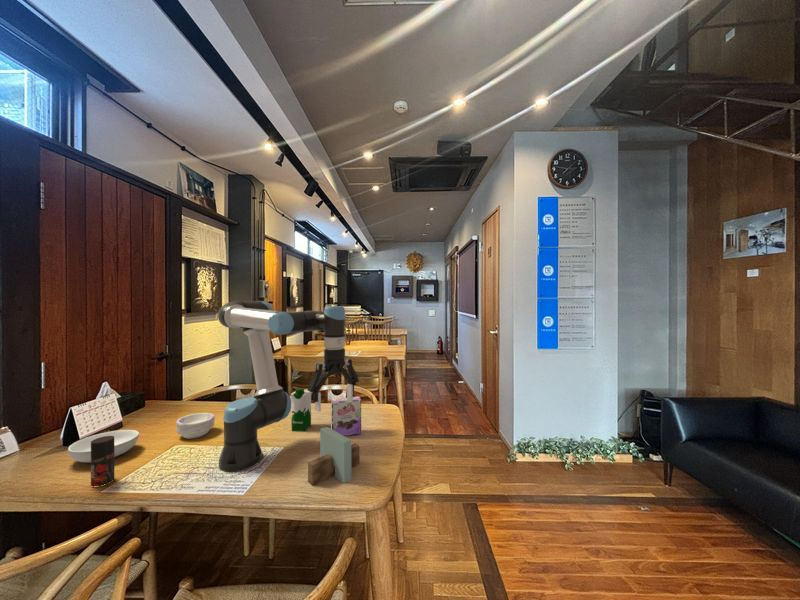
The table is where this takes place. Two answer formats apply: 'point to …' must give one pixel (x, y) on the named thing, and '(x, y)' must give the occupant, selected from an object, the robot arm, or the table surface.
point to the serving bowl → (121, 437)
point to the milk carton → (301, 409)
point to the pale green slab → (337, 452)
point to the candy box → (346, 416)
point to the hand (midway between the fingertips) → (334, 405)
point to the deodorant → (102, 460)
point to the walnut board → (328, 466)
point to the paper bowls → (195, 425)
